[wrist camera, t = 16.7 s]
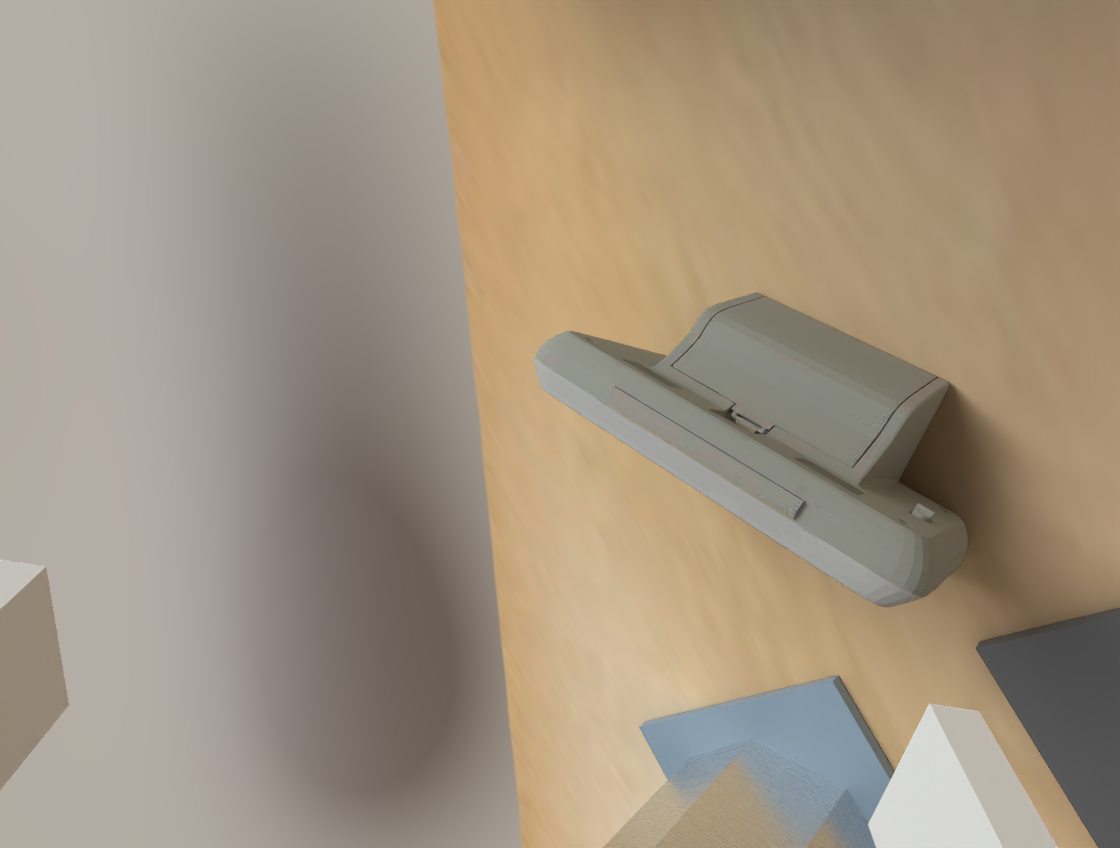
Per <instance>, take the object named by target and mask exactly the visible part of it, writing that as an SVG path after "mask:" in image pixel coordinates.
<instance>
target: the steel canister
mask: <svg viewBox="0 0 1120 848" xmlns="http://www.w3.org/2000/svg"><path fill="white" fill-rule="evenodd" d="M603 848H876V846H875V843H874V840H873V838H872V835H871V832H870V829H869V826H868V822H867V820H866V819H865V817H864V815H863V814H862V812H861V811H860V809H859V808H858V806H857V805H856V803H855V802H854V800H853V799H852V797H851V796H850V794H849V792H848V791H847V789H846V788H844V787H842V786H840V785H838V784H836V783H835V782H833V781H831V780H829V779H827V778H825V777H823V776H822V775H820V774H818V773H816V772H814V771H812V770H811V769H809V768H807V767H805V766H803V765H801V764H799V763H798V762H796V761H794V760H792V759H790V758H788V757H787V756H785V755H783V754H781V753H779V752H777V751H775V750H774V749H772V748H770V747H768V746H766V745H764V744H762V743H761V742H759V741H757V740H755V739H753V738H751V739H747V740H744V741H741V742H738V743H734V744H731V745H728V746H725V747H721V748H718V749H715V750H711V751H708V752H705V753H702V754H698V755H695V756H692V757H690V758H689V759H688V760H687V761H686V762H685V763H684V764H683V765H682V766H681V767H680V768H679V769H678V770H677V771H676V772H675V773H674V774H673V775H672V776H671V777H670V778H669V780H668V781H667V782H666V783H665V784H664V785H663V786H662V787H661V788H660V789H659V790H658V791H657V792H656V793H655V794H654V795H653V796H652V797H651V798H650V799H649V800H648V801H647V802H646V803H645V804H644V806H643V807H642V808H641V809H640V810H639V811H638V812H637V813H636V814H635V815H634V816H633V817H632V818H631V819H630V820H629V821H628V822H627V823H626V824H625V825H624V826H623V827H622V828H621V829H620V830H619V831H618V833H617V834H616V835H615V836H614V837H613V838H612V839H611V840H610V841H609V842H608V843H607V844H606V845H605V846H604V847H603Z"/></svg>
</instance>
